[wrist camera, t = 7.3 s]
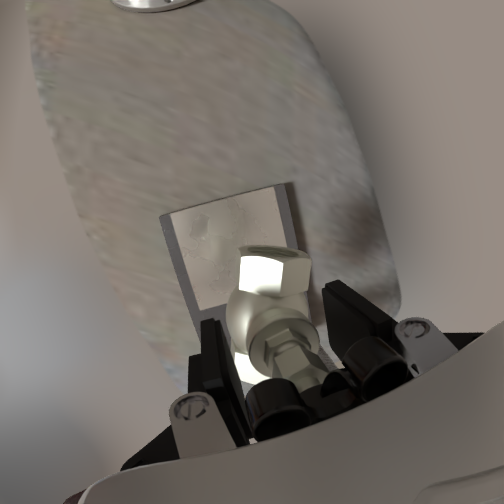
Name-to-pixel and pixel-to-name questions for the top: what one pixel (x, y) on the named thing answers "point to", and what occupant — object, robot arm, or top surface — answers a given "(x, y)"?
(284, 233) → the press
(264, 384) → the valve
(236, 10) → the top surface
